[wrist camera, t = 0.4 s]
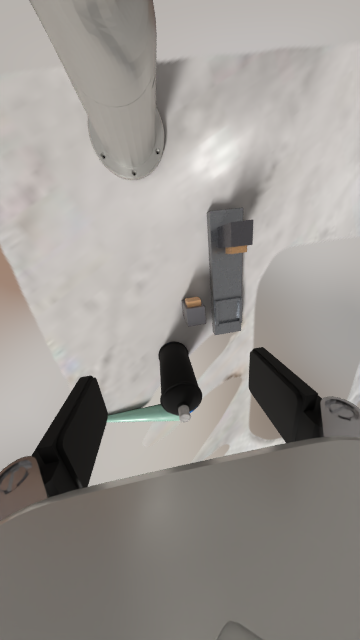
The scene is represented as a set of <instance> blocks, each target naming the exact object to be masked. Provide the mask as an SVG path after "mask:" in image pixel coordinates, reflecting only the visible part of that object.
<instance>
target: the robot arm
mask: <svg viewBox="0 0 360 640" xmlns="http://www.w3.org/2000/svg"><path fill="white" fill-rule="evenodd" d="M29 1H30V3H31V5H32V6H33V8H34V10H35V11H36V14H37V15H38V17H39V19H40V21H41V23H42V25H43V27H44V29H45V31H46V33H47V34H48V36H49V38H50V41H51V42H52V44H53V46H54V48H55V50H56V53H57V55H58V57H59V59H60V60H61V63H62V65H63V67H64V69H65V71H66V73H67V75H68V77H69V79H70V81H71V83H72V85H73V87H74V89H75V91H76V93H77V95H78V97H79V99H80V101H81V103H82V105H83V107H84V109H85V111H86V113H87V115H88V130H89V136H90V139H91V143H92V145H93V148H94V150H95V152H96V154H97V155H98V157H99V159H100V160H101V161H102V163H103V164H104V165H105V166H106V167H107V168H108V169H109V170H110V171H111V172H112V173H114V174H115V175H117V176H119V177H121V178H124V179H128V180H138V179H142V178H144V177H146V176H148V175H149V174H150V173H152V172H153V171H154V170H155V168H156V167H157V165H158V164H159V162H160V159H161V157H162V153H163V148H164V128H163V123H162V119H161V116H160V113H159V111H158V109H157V107H156V20H155V12H154V6H153V0H29ZM157 152H158V153H159V154H156V153H157ZM104 156H105V157H106V158H105V159H103V157H104ZM134 173H135V174H136V175H135V176H134V175H133V174H134ZM249 390H250V392H251V393H252V395H253V396H254V398H255V399H256V400H257V402H258V403H259V405H260V406H261V408H262V409H263V411H264V412H265V413H266V415H267V416H268V417H269V419H270V420H271V422H272V423H273V425H274V426H275V428H276V429H277V430H278V432H279V433H280V435H281V436H282V438H283V439H284V440H285V442H286V443H285V444H280V445H275V446H270V447H266V448H261V449H256V450H251V451H247V452H242V453H237V454H232V455H228V456H223V457H219V458H214V459H210V460H205V461H200V462H196V463H191V464H186V465H182V466H178V467H173V468H169V469H164V470H160V471H155V472H150V473H146V474H142V475H137V476H132V477H129V478H124V479H120V480H115V481H110V482H106V483H102V484H98V485H94V486H90V487H88V484H89V480H90V477H91V473H92V470H93V466H94V463H95V460H96V456H97V453H98V450H99V446H100V443H101V439H102V436H103V432H104V429H105V426H106V422H107V419H108V412H107V409H106V406H105V403H104V400H103V397H102V394H101V391H100V388H99V385H98V382H97V379H96V378H93V377H92V376H86V377H81V378H80V379H79V380H78V382H77V383H76V385H75V387H74V388H73V390H72V391H71V393H70V395H69V396H68V398H67V400H66V401H65V403H64V404H63V406H62V408H61V409H60V411H59V413H58V414H57V416H56V417H55V419H54V420H53V422H52V424H51V425H50V427H49V428H48V430H47V432H46V433H45V435H44V436H43V438H42V440H41V441H40V443H39V445H38V446H37V448H36V449H35V451H34V453H33V454H32V456H27V457H23V458H20V459H17V460H16V461H14V462H12V463H11V464H9V465H8V466H7V467H5V468H4V469H3V470H2V471H1V472H0V640H360V409H359V408H358V407H357V406H355V405H354V404H353V403H351V402H349V401H347V400H344V399H341V398H338V397H324V398H323V399H322V398H321V397H319V396H318V393H317V392H316V391H314V390H313V389H312V388H311V387H310V386H308V385H307V384H306V383H305V382H304V381H302V380H301V379H300V378H299V377H298V376H297V375H295V374H294V373H293V372H292V371H291V370H290V369H288V368H287V367H286V366H285V365H284V364H282V363H281V362H280V361H279V360H278V359H276V358H275V357H274V356H273V355H272V354H271V353H269V352H268V351H267V350H266V349H265V348H263V347H261V348H255V349H253V350H252V351H251V352H250V366H249Z"/></svg>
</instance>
